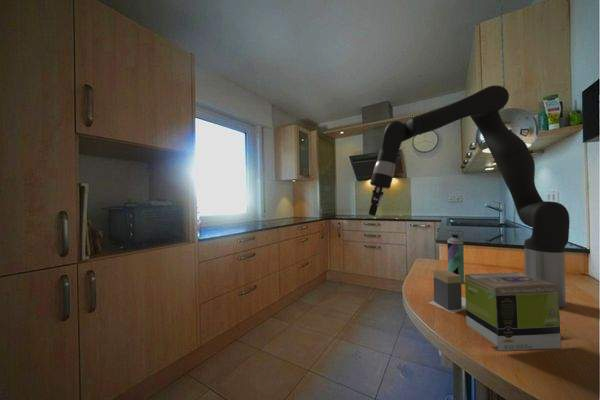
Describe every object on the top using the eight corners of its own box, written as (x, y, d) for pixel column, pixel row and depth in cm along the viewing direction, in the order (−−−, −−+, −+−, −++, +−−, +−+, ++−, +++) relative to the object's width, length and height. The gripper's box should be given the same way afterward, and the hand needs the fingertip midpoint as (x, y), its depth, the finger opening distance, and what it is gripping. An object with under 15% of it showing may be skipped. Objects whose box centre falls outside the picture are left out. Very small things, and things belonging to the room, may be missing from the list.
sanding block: (446, 300, 76) (446, 270, 76) (461, 309, 70) (461, 275, 70) (434, 301, 75) (433, 270, 75) (447, 310, 69) (447, 276, 69)
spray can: (454, 280, 98) (453, 232, 99) (467, 284, 93) (466, 234, 93) (444, 281, 97) (444, 233, 97) (457, 286, 92) (456, 235, 92)
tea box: (519, 326, 62) (518, 271, 62) (562, 350, 52) (561, 284, 52) (464, 328, 62) (463, 272, 62) (497, 352, 52) (497, 286, 52)
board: (453, 297, 81) (453, 294, 81) (480, 306, 74) (480, 303, 74) (428, 306, 74) (428, 302, 74) (454, 317, 67) (454, 313, 67)
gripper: (394, 173, 81) (381, 218, 82) (392, 179, 95) (381, 218, 95) (372, 169, 84) (360, 212, 84) (373, 175, 97) (363, 213, 98)
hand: (371, 215), depth 90 cm, fingers open, 8 cm apart
